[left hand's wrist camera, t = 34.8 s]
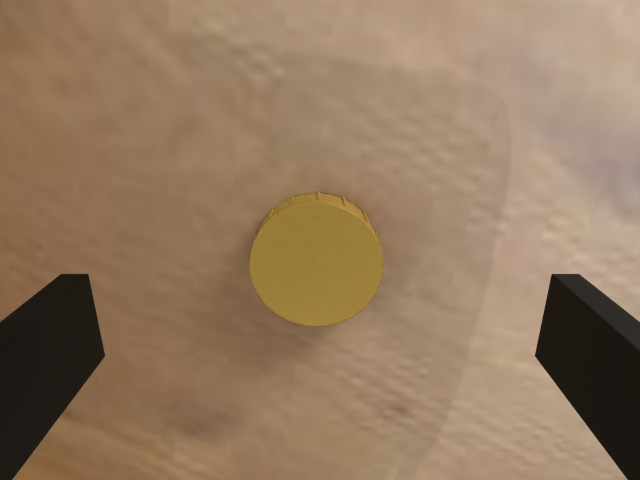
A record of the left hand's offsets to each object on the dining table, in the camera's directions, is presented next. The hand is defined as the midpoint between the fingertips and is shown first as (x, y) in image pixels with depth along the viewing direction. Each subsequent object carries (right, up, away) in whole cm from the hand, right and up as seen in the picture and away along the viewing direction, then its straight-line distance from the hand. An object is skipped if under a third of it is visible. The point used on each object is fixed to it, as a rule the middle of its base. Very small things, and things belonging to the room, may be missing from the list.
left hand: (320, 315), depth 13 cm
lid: (0, +1, +6) cm, 6 cm away
